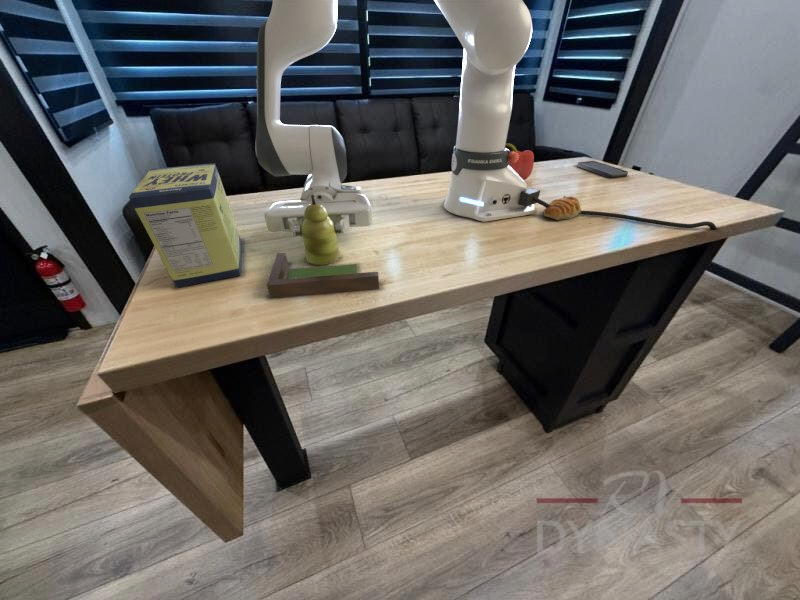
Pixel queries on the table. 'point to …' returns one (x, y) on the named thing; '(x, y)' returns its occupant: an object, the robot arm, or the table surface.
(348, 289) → the corner guard
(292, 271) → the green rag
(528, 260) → the table surface
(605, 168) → the phone
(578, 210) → the pastry
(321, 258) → the pear
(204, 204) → the protein box
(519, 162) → the vegetable
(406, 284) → the table surface
